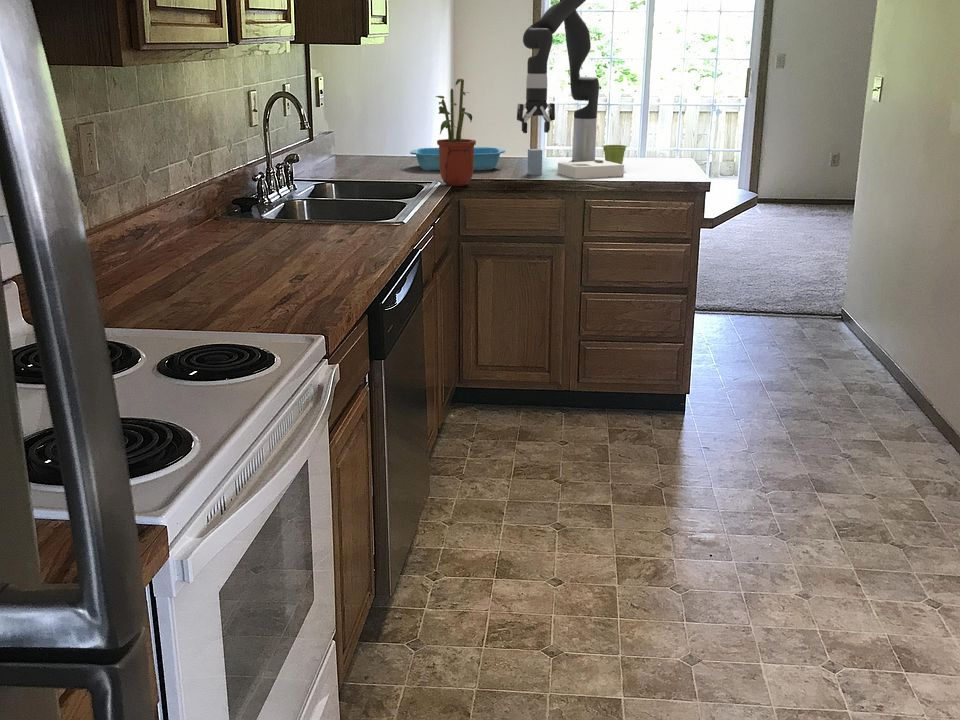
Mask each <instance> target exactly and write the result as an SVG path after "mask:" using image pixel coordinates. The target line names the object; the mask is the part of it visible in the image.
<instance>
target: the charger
mask: <svg viewBox="0 0 960 720" xmlns="http://www.w3.org/2000/svg"><path fill="white" fill-rule="evenodd" d="M527 175H529V176H542V175H543V149H540V148H532V149H531V148H530V149H527Z"/></svg>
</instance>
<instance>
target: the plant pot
mask: <svg viewBox="0 0 960 720" xmlns="http://www.w3.org/2000/svg"><path fill="white" fill-rule="evenodd" d="M601 147H602V148H603V149H602V150H603V153H604V161H610V162H614V163H618V164H622V165H623V162H624V156H625V152H626V149H627V148H628V146H627V145H623V144H606V145H602V146H601Z"/></svg>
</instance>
